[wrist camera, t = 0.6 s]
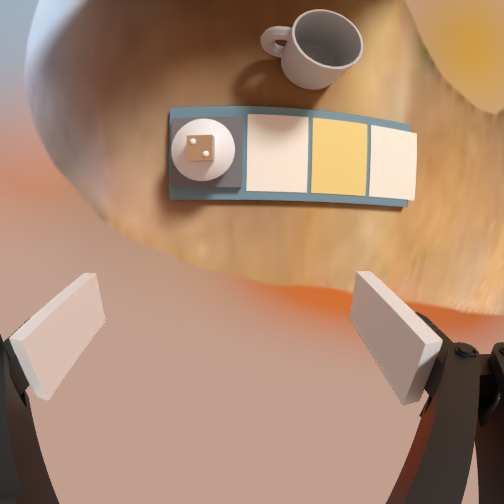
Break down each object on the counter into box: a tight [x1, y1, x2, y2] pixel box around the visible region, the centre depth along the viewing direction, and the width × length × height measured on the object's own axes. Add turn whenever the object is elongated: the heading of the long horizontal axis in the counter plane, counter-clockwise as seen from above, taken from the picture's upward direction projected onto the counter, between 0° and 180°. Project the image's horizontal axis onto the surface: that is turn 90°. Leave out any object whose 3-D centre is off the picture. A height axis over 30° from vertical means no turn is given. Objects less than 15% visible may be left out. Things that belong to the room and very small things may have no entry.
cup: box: [260, 9, 363, 90], centre depth 26 cm, size 7×10×9 cm
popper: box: [171, 119, 235, 181], centre depth 28 cm, size 6×6×4 cm
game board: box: [169, 106, 417, 207], centre depth 33 cm, size 11×31×2 cm, turn 89°
